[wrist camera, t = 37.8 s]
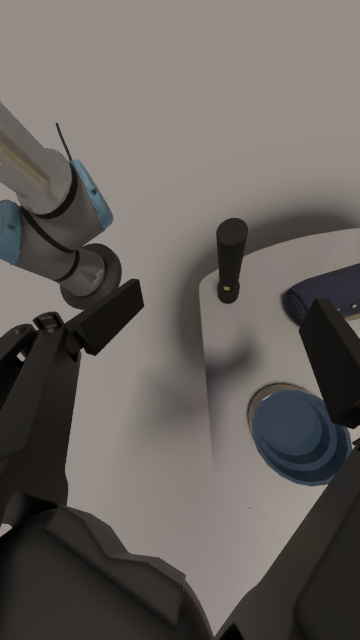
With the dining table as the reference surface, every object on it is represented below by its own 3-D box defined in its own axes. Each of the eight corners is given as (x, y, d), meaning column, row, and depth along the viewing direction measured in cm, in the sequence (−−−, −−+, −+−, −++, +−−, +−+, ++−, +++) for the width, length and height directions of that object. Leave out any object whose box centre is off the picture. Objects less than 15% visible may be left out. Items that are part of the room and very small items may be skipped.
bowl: (237, 393, 38) (239, 401, 32) (306, 375, 35) (322, 380, 29) (265, 468, 34) (273, 492, 29) (345, 454, 31) (372, 478, 26)
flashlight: (221, 283, 43) (215, 301, 43) (216, 210, 21) (206, 246, 20) (240, 287, 42) (235, 305, 42) (259, 213, 19) (248, 252, 19)
